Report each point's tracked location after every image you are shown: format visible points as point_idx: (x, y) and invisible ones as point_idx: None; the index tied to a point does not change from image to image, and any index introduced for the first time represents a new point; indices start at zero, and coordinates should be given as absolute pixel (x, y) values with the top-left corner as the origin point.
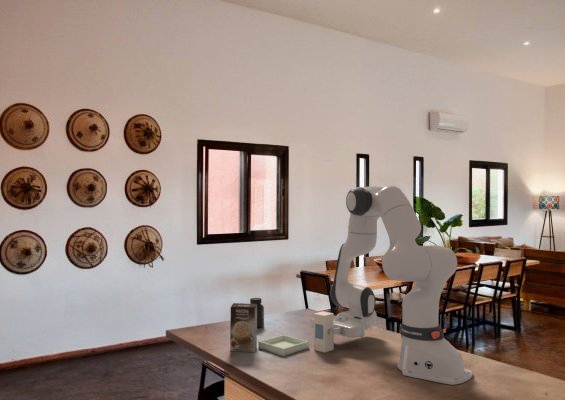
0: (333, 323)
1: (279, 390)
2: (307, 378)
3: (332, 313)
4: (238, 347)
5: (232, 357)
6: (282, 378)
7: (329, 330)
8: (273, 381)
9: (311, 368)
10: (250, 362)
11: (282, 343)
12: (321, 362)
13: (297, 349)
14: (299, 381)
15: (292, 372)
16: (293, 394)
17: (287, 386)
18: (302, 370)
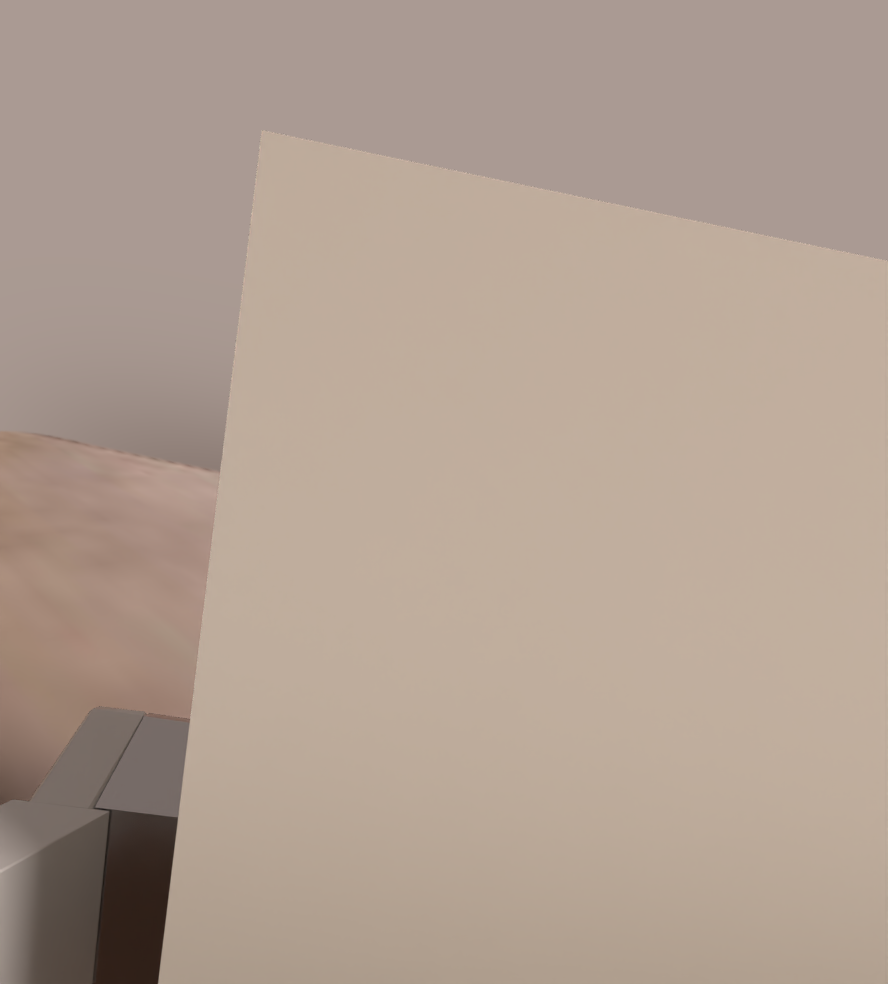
0: (183, 774)
1: (99, 446)
2: (10, 517)
3: (326, 149)
4: None
5: None
6: (179, 501)
7: (162, 721)
8: (199, 482)
9: (68, 613)
10: None
11: None
12: (29, 737)
13: None
14: (46, 493)
15: (179, 549)
16: (2, 433)
17: (84, 464)
18: (127, 577)
